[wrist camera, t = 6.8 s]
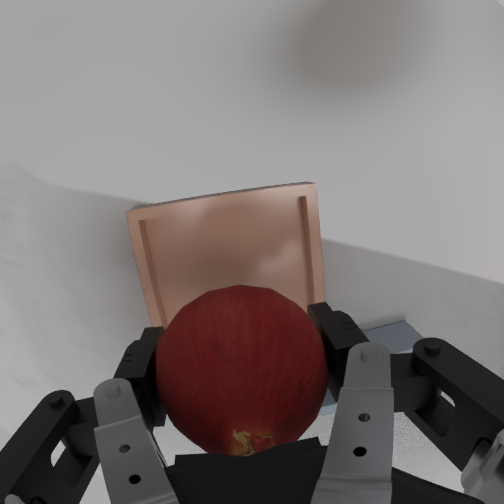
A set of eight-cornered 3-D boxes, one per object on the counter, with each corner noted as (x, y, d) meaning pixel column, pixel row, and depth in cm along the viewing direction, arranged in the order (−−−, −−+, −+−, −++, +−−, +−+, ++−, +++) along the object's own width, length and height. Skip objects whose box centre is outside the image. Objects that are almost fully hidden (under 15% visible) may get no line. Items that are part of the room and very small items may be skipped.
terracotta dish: (307, 181, 18) (315, 183, 16) (318, 335, 21) (326, 348, 19) (134, 207, 18) (125, 211, 16) (170, 357, 20) (166, 372, 19)
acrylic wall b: (405, 320, 21) (429, 342, 18) (404, 329, 21) (427, 352, 18) (187, 361, 20) (182, 393, 17) (190, 370, 21) (186, 402, 17)
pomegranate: (308, 358, 15) (366, 490, 7) (193, 383, 14) (182, 524, 7) (289, 244, 13) (372, 346, 5) (154, 275, 13) (85, 401, 5)
